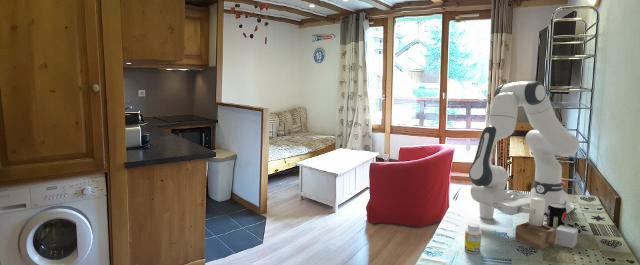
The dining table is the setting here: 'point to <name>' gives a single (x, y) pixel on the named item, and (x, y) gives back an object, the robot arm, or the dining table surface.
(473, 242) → the supplement bottle
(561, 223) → the beverage can
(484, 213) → the shot glass
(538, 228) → the brown wooden open box
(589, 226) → the dining table surface
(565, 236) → the grey block
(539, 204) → the white pillar candle
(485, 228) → the dining table surface
